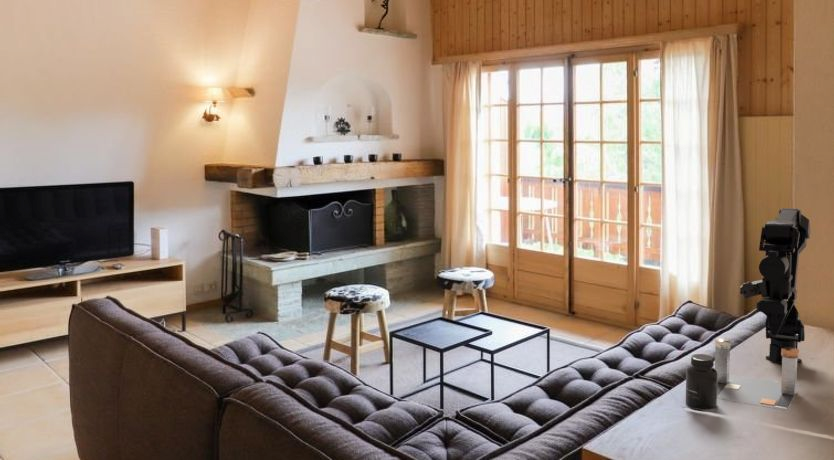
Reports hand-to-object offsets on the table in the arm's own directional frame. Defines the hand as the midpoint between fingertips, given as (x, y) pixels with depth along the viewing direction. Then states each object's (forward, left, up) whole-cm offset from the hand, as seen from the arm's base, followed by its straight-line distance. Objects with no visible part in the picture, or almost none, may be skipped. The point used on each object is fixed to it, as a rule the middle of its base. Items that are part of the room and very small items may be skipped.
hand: (776, 332), depth 178 cm
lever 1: (+15, -2, -11) cm, 19 cm away
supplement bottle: (+29, +7, -12) cm, 32 cm away
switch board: (+12, +6, -12) cm, 18 cm away
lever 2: (+7, +11, -11) cm, 17 cm away
